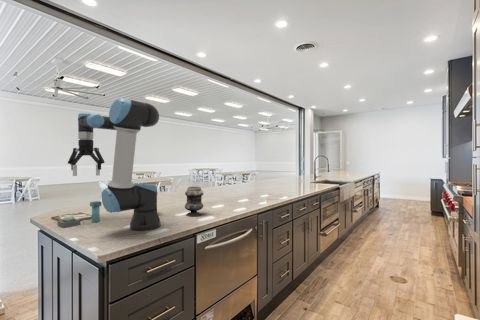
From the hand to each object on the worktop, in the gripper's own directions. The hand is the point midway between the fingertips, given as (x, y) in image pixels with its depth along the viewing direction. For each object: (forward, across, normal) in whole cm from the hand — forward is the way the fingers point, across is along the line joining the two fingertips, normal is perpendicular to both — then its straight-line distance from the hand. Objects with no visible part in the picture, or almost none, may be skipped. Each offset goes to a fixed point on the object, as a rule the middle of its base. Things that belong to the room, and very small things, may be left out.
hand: (86, 175), depth 144 cm
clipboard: (+26, +11, -5) cm, 29 cm away
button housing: (+26, +4, +10) cm, 28 cm away
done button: (+24, +4, +10) cm, 27 cm away
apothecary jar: (+28, -60, -15) cm, 68 cm away
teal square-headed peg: (+26, -6, +2) cm, 27 cm away
